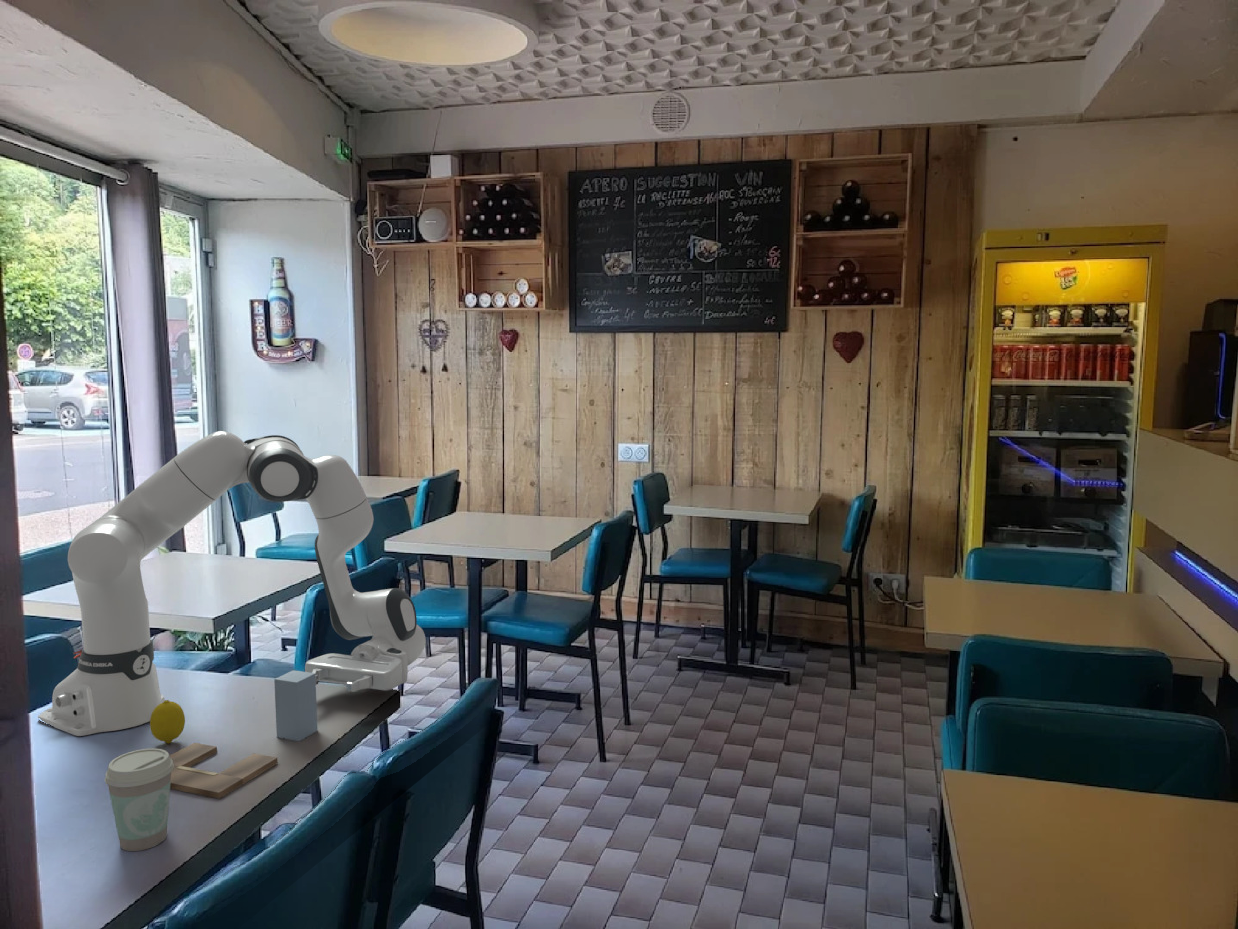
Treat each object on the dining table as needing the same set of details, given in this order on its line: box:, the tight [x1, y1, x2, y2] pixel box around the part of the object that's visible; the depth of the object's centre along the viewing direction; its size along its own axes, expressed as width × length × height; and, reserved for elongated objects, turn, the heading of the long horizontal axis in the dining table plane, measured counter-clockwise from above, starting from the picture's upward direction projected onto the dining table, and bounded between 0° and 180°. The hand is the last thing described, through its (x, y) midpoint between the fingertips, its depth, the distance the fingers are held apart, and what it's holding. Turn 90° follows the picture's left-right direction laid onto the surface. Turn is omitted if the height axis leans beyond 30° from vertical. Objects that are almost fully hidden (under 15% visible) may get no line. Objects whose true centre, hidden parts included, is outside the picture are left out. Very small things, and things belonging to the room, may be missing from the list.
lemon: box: [149, 699, 186, 744], centre depth 154 cm, size 6×6×8 cm
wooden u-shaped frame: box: [169, 742, 279, 800], centre depth 143 cm, size 18×13×1 cm
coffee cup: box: [104, 748, 174, 852], centre depth 121 cm, size 9×9×12 cm
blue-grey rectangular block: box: [273, 669, 318, 742], centre depth 158 cm, size 5×5×11 cm
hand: (329, 684), depth 167 cm, fingers open, 8 cm apart
